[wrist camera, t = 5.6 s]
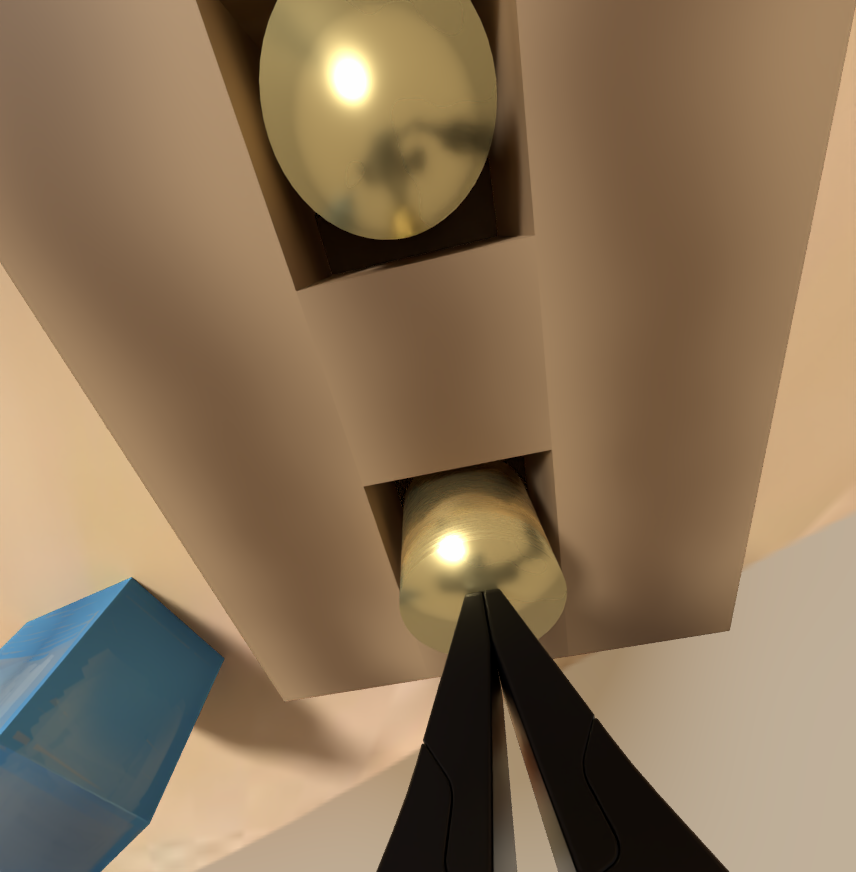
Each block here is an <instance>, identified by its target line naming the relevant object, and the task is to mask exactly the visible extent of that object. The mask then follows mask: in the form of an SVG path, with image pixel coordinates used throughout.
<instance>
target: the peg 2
mask: <svg viewBox="0 0 856 872" xmlns="http://www.w3.org/2000/svg"><path fill="white" fill-rule="evenodd" d="M492 589H500V590H501V591H502V592H503V594H504V595H505V596H506V598H507V599H508V600H509V602H510V603H511V604H512V606H513V607H514V608H515V610H516V611H517V612H518V614H519V615H520V616H521V618H522V619H523V620H524V622H525V623H526V624H527V626H528V627H529V628H530V630H531V631H532V632H533V634H534V635H535V636H536V638H537V639H539V638H540V637H542V636H543V635H544V634H545V633H547V632H548V631H549V630H550V629H551V628H552V627H553V626H554V624H555V623H556V622H557V620H558V619H559V617H560V616H561V614H562V612H563V609H564V607H565V603H566V599H567V587H566V581H565V579H564V576H563V574H562V571H561V569H560V567H559V564H558V562H557V560H556V558H555V555H554V553H553V551H552V548H551V546H550V544H549V542H548V539H547V537H546V535H545V532H544V530H543V528H542V526H541V523H540V521H539V519H538V516H537V514H536V512H535V510H534V507H533V505H532V503H531V500H530V498H529V496H528V494H527V491H526V489H525V487H524V484H523V482H522V480H521V479H520V477H519V476H518V474H517V473H516V472H515V471H514V470H513V469H512V468H511V467H510V466H508V465H507V464H505V463H504V462H502V461H500V460H496V461H491V462H486V463H481V464H476V465H471V466H466V467H460V468H455V469H450V470H445V471H440V472H435V473H430V474H425V475H420V476H415V478H414V479H413V480H412V482H411V483H410V485H409V487H408V489H407V491H406V494H405V498H404V506H403V528H402V551H401V573H400V596H399V608H400V614H401V617H402V620H403V622H404V624H405V626H406V627H407V629H408V630H409V632H410V633H411V634H412V635H413V636H414V637H415V638H416V639H418V640H419V641H420V642H422V643H423V644H425V645H426V646H428V647H430V648H432V649H434V650H437V651H439V652H442V653H445V654H448V652H449V649H450V645H451V642H452V638H453V635H454V631H455V628H456V624H457V621H458V617H459V614H460V611H461V607H462V604H463V600H464V597H465V595H466V594H469V593H475V592H481V593H482V594H483V592H484V591H486V590H492Z"/></svg>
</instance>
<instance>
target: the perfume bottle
mask: <svg viewBox="0 0 856 872" xmlns="http://www.w3.org/2000/svg"><path fill="white" fill-rule="evenodd" d="M223 661H224V658H223V657H222V656H221V655H220V654H219V653H218V652H216V651H215V650H214V649H213V648H212V647H211V646H210V645H208V644H207V643H206V642H205V641H204V640H203V639H202V638H200V637H199V636H198V635H197V634H196V633H195V632H194V631H192V630H191V629H190V628H189V627H188V626H187V625H186V624H185V623H183V622H182V621H181V620H180V619H179V618H178V617H177V616H175V615H174V614H173V613H172V612H171V611H170V610H169V609H167V608H166V607H165V606H164V605H163V604H162V603H161V602H160V601H158V600H157V599H156V598H155V597H154V596H153V595H152V594H150V593H149V592H148V591H147V590H146V589H145V588H144V587H142V586H141V585H140V584H139V583H138V582H137V581H136V580H134V579H133V578H132V577H131V578H129V579H127V580H124V581H122V582H120V583H118V584H115V585H113V586H111V587H108V588H106V589H104V590H101V591H99V592H97V593H94V594H92V595H90V596H87V597H85V598H83V599H80V600H78V601H76V602H74V603H71V604H69V605H67V606H64V607H62V608H60V609H57V610H55V611H53V612H50V613H48V614H46V615H43V616H41V617H39V618H36V619H34V620H32V621H30V622H27V623H26V624H25V625H24V626H23V627H22V628H21V629H20V630H19V631H18V632H17V633H16V634H15V635H14V636H13V637H12V638H11V639H10V640H9V641H8V642H7V643H6V644H5V645H4V646H3V647H2V648H1V649H0V872H101V871H102V870H103V869H104V868H105V867H106V866H107V865H108V864H109V863H110V862H111V861H112V860H113V859H114V858H115V857H116V856H117V855H118V854H119V853H120V852H121V851H122V850H123V849H124V848H125V847H126V846H127V845H128V844H129V843H130V842H131V841H132V840H133V839H134V838H135V837H136V836H137V835H138V834H140V833H141V832H142V831H143V830H144V829H145V828H146V827H147V826H148V825H149V824H150V822H151V819H152V817H153V815H154V813H155V811H156V808H157V806H158V804H159V802H160V800H161V797H162V795H163V793H164V791H165V789H166V786H167V784H168V782H169V780H170V778H171V775H172V773H173V771H174V769H175V767H176V764H177V762H178V760H179V758H180V756H181V753H182V751H183V749H184V747H185V745H186V742H187V740H188V738H189V736H190V733H191V731H192V729H193V727H194V725H195V722H196V720H197V718H198V716H199V714H200V711H201V709H202V707H203V705H204V703H205V700H206V698H207V696H208V694H209V692H210V689H211V687H212V685H213V683H214V681H215V678H216V676H217V674H218V672H219V670H220V667H221V665H222V663H223Z"/></svg>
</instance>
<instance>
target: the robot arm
mask: <svg viewBox="0 0 856 872" xmlns="http://www.w3.org/2000/svg"><path fill="white" fill-rule="evenodd" d="M498 672H499V673H498ZM499 677H500V678H499ZM500 681H501V683H500ZM501 686H502V689H501ZM502 690H503V694H504V698H505V701H506V704H507V707H508V711H509V714H510V717H511V721H512V724H513V727H514V730H515V733H516V737H517V740H518V743H519V746H520V750H521V753H522V756H523V759H524V763H525V766H526V769H527V772H528V775H529V779H530V782H531V785H532V788H533V792H534V794H535V798H536V801H537V804H538V808H539V811H540V814H541V817H542V821H543V824H544V827H545V830H546V833H547V837H548V840H549V843H550V846H551V850H552V853H553V856H554V859H555V863H556V866H557V868H558V872H729V871H728V870H727V869H726V868H725V866H724V865H723V864H722V863H721V862H720V861H719V860H718V859H717V858H716V857H715V855H714V854H713V853H712V852H711V851H710V850H709V849H708V848H707V847H706V846H705V845H704V843H703V842H702V841H701V840H700V839H699V838H698V837H697V836H696V835H695V833H694V832H693V831H692V830H691V829H690V828H689V827H688V826H687V825H686V824H685V823H684V822H683V820H682V819H681V818H680V817H679V816H678V815H677V814H676V813H675V812H674V810H673V809H672V808H671V807H670V806H669V805H668V804H667V803H666V802H665V801H664V799H663V798H662V797H661V796H660V795H659V794H658V793H657V792H656V791H655V789H654V788H653V787H652V786H651V785H650V784H649V782H648V781H647V780H646V779H645V778H644V777H643V776H642V774H641V773H640V772H639V771H638V770H637V769H636V768H635V766H634V765H633V764H632V763H631V761H630V760H629V759H628V758H627V756H626V755H625V754H624V753H623V751H622V750H621V749H620V748H619V746H618V745H617V744H616V742H615V741H614V740H613V739H612V737H611V736H610V735H609V733H608V732H607V731H606V730H605V728H604V727H603V725H602V724H601V723H600V721H599V720H598V719H597V718H595V717H594V714H593V713H592V711H591V710H590V709H589V707H588V706H587V704H586V703H585V702H584V700H583V699H582V698H581V696H580V695H579V694H578V692H577V691H576V690H575V688H574V687H573V686H572V685H571V683H570V682H569V680H568V679H567V678H566V676H565V675H564V674H563V672H562V671H561V670H560V668H559V667H558V666H557V664H556V663H555V662H554V660H553V659H552V658H551V656H550V655H549V654H548V652H547V651H546V650H545V648H544V647H543V646H542V644H541V643H540V642H539V640H538V639H537V638H536V636H535V635H534V634H533V632H532V631H531V630H530V628H529V627H528V626H527V624H526V623H525V622H524V620H523V619H522V618H521V616H520V615H519V614H518V612H517V611H516V610H515V608H514V607H513V606H512V604H511V603H510V602H509V600H508V599H507V598H506V596H505V595H504V594H503V592H502V591H501V590H500V589H492V590H486V591H484V592H483V594H482V593H481V592H475V593H469V594H466V595H465V597H464V600H463V604H462V607H461V611H460V614H459V617H458V621H457V624H456V628H455V631H454V635H453V638H452V642H451V645H450V649H449V652H448V656H447V659H446V663H445V666H444V669H443V673H442V676H441V680H440V683H439V687H438V690H437V694H436V697H435V701H434V704H433V708H432V711H431V715H430V718H429V721H428V725H427V728H426V732H425V735H424V739H423V742H424V744H422V745H421V749H420V752H419V755H418V759H417V763H416V766H415V769H414V772H413V775H412V778H411V782H410V785H409V788H408V791H407V794H406V798H405V800H404V802H403V805H402V808H401V811H400V813H399V816H398V819H397V821H396V824H395V826H394V829H393V832H392V834H391V837H390V839H389V842H388V844H387V847H386V849H385V852H384V854H383V857H382V859H381V862H380V864H379V867H378V869H377V872H517V864H516V852H515V840H514V829H513V816H512V804H511V792H510V780H509V768H508V757H507V744H506V732H505V720H504V708H503V698H502Z"/></svg>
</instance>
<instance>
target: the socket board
mask: <svg viewBox="0 0 856 872" xmlns="http://www.w3.org/2000/svg"><path fill="white" fill-rule="evenodd" d="M470 1H471V2H472V4H473V6H474V8H475V10H476V12H477V14H478V16H479V18H480V20H481V22H482V25H483V27H484V30H485V33H486V35H487V38H488V41H489V45H490V49H491V53H492V56H493V62H494V68H495V74H496V86H497V109H496V121H495V128H494V134H493V138H492V142H491V146H490V150H489V153H488V158H489V166H490V175H491V183H492V192H493V200H494V209H495V217H496V226H497V234H498V236H496V237H492V238H487V239H483V240H479V241H475V242H470V243H466V244H462V245H458V246H453V247H449V248H445V249H441V250H436V251H432V252H428V253H424V254H419V255H415V256H411V257H407V258H402V259H398V260H394V261H390V262H385V263H381V264H377V265H373V266H368V267H364V268H360V269H356V270H351V271H347V272H343V273H339V274H334V275H332V273H331V269H330V266H329V263H328V259H327V256H326V253H325V249H324V246H323V243H322V239H321V236H320V233H319V229H318V226H317V223H316V219H315V216H314V213H313V209H312V208H311V207H310V206H309V205H308V204H307V203H306V202H305V201H304V200H303V199H302V198H301V196H300V195H299V194H298V193H297V191H296V190H295V189H294V188H293V186H292V185H291V183H290V182H289V180H288V179H287V177H286V175H285V174H284V172H283V170H282V168H281V166H280V164H279V162H278V160H277V159H276V157H275V154H274V152H273V149H272V146H271V144H270V141H269V138H268V135H267V131H266V127H265V123H264V120H263V114H262V107H261V101H260V86H259V73H260V57H261V51H262V45H263V39H264V35H265V32H266V28H267V25H268V21H269V19H270V16H271V14H272V11H273V9H274V7H275V4H276V2H277V0H0V263H1V264H2V266H3V267H4V269H5V270H6V272H7V274H8V275H9V277H10V278H11V280H12V281H13V283H14V284H15V286H16V287H17V289H18V291H19V292H20V294H21V295H22V297H23V298H24V300H25V301H26V303H27V304H28V306H29V308H30V309H31V311H32V312H33V314H34V315H35V317H36V318H37V320H38V321H39V323H40V325H41V326H42V328H43V329H44V331H45V332H46V334H47V335H48V337H49V339H50V340H51V342H52V343H53V345H54V346H55V348H56V349H57V351H58V352H59V354H60V356H61V357H62V359H63V360H64V362H65V363H66V365H67V366H68V368H69V369H70V371H71V373H72V374H73V376H74V377H75V379H76V380H77V382H78V383H79V385H80V386H81V388H82V390H83V391H84V393H85V394H86V396H87V397H88V399H89V400H90V402H91V403H92V405H93V407H94V408H95V410H96V411H97V413H98V414H99V416H100V417H101V419H102V421H103V422H104V424H105V425H106V427H107V428H108V430H109V431H110V433H111V434H112V436H113V438H114V439H115V441H116V442H117V444H118V445H119V447H120V448H121V450H122V451H123V453H124V455H125V456H126V458H127V459H128V461H129V462H130V464H131V465H132V467H133V468H134V470H135V472H136V473H137V475H138V476H139V478H140V479H141V481H142V482H143V484H144V485H145V487H146V489H147V490H148V492H149V493H150V495H151V496H152V498H153V499H154V501H155V503H156V504H157V506H158V507H159V509H160V510H161V512H162V513H163V515H164V516H165V518H166V520H167V521H168V523H169V524H170V526H171V527H172V529H173V530H174V532H175V533H176V535H177V537H178V538H179V540H180V541H181V543H182V544H183V546H184V547H185V549H186V550H187V552H188V554H189V555H190V557H191V558H192V560H193V561H194V563H195V564H196V566H197V567H198V569H199V571H200V572H201V574H202V575H203V577H204V578H205V580H206V581H207V583H208V585H209V586H210V588H211V589H212V591H213V592H214V594H215V595H216V597H217V598H218V600H219V602H220V603H221V605H222V606H223V608H224V609H225V611H226V612H227V614H228V615H229V617H230V619H231V620H232V622H233V623H234V625H235V626H236V628H237V629H238V631H239V632H240V634H241V636H242V637H243V639H244V640H245V642H246V643H247V645H248V646H249V648H250V649H251V651H252V653H253V654H254V656H255V657H256V659H257V660H258V662H259V663H260V665H261V667H262V668H263V670H264V671H265V673H266V674H267V676H268V677H269V679H270V680H271V682H272V684H273V685H274V687H275V688H276V690H277V691H278V693H279V694H280V696H281V697H282V699H283V701H284V702H285V701H292V700H298V699H304V698H311V697H317V696H323V695H329V694H336V693H342V692H348V691H354V690H361V689H367V688H373V687H379V686H386V685H392V684H398V683H405V682H411V681H417V680H423V679H430V678H436V677H441V676H442V673H443V669H444V666H445V663H446V659H447V656H448V654H445V653H442V652H439V651H437V650H434V649H432V648H430V647H428V646H426V645H425V644H423V643H422V642H420V641H419V640H418V639H416V638H415V637H414V636H413V635H412V634H411V633H410V632H409V630H408V629H407V627H406V626H405V624H404V622H403V620H402V617H401V614H400V608H399V596H400V573H401V551H402V528H403V509H402V506H401V503H400V499H399V496H398V493H397V489H396V486H395V483H394V480H399V479H404V478H409V477H415V476H420V475H425V474H430V473H435V472H440V471H445V470H450V469H455V468H460V467H466V466H471V465H476V464H481V463H486V462H491V461H496V460H501V459H506V458H511V457H517V456H522V455H524V463H525V471H526V480H527V488H528V496H529V498H530V500H531V503H532V505H533V507H534V510H535V512H536V514H537V516H538V519H539V521H540V523H541V526H542V528H543V530H544V532H545V535H546V537H547V539H548V542H549V544H550V546H551V548H552V551H553V553H554V555H555V558H556V560H557V562H558V564H559V567H560V569H561V571H562V574H563V576H564V579H565V581H566V587H567V599H566V603H565V607H564V609H563V612H562V614H561V616H560V617H559V619H558V620H557V622H556V623H555V624H554V626H553V627H552V628H551V629H550V630H549V631H548V632H547V633H545V634H544V635H543V636H542V637H540V638H539V639H538V640H539V642H540V643H541V644H542V646H543V647H544V648H545V650H546V651H547V652H548V654H549V655H550V656H551V658H552V659H555V658H561V657H567V656H574V655H580V654H586V653H593V652H599V651H604V650H611V649H618V648H623V647H630V646H636V645H643V644H648V643H655V642H662V641H668V640H674V639H680V638H687V637H693V636H699V635H705V634H712V633H718V632H724V631H729V630H730V626H731V621H732V616H733V610H734V606H735V601H736V596H737V591H738V586H739V581H740V577H741V572H742V567H743V562H744V557H745V552H746V547H747V542H748V537H749V532H750V527H751V522H752V517H753V512H754V507H755V502H756V497H757V492H758V487H759V482H760V477H761V472H762V467H763V462H764V458H765V453H766V448H767V443H768V438H769V433H770V428H771V423H772V418H773V413H774V408H775V403H776V398H777V393H778V388H779V383H780V378H781V373H782V368H783V363H784V358H785V353H786V348H787V344H788V339H789V334H790V329H791V324H792V319H793V314H794V309H795V304H796V299H797V294H798V289H799V284H800V279H801V274H802V269H803V264H804V259H805V254H806V249H807V244H808V239H809V234H810V229H811V225H812V220H813V215H814V210H815V205H816V200H817V195H818V190H819V185H820V180H821V175H822V170H823V165H824V160H825V155H826V150H827V145H828V140H829V135H830V130H831V125H832V120H833V115H834V110H835V106H836V101H837V96H838V91H839V86H840V81H841V76H842V71H843V66H844V61H845V56H846V51H847V46H848V41H849V36H850V31H851V26H852V21H853V16H854V11H855V6H856V0H470Z"/></svg>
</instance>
